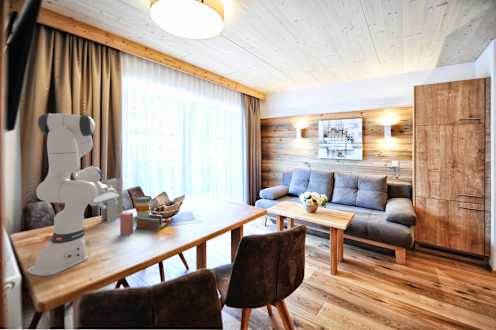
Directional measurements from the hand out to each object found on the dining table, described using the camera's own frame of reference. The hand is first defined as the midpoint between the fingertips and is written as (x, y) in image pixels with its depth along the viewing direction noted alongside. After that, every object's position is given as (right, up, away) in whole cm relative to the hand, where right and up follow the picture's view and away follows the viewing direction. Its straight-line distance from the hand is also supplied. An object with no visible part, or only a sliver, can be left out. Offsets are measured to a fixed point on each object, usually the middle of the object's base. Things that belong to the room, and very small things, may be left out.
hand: (111, 206), depth 140 cm
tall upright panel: (-16, -14, +26) cm, 34 cm away
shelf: (+21, -17, +11) cm, 29 cm away
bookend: (+22, -15, +15) cm, 30 cm away
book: (+10, -17, 0) cm, 20 cm away
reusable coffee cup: (+4, -14, +35) cm, 38 cm away
